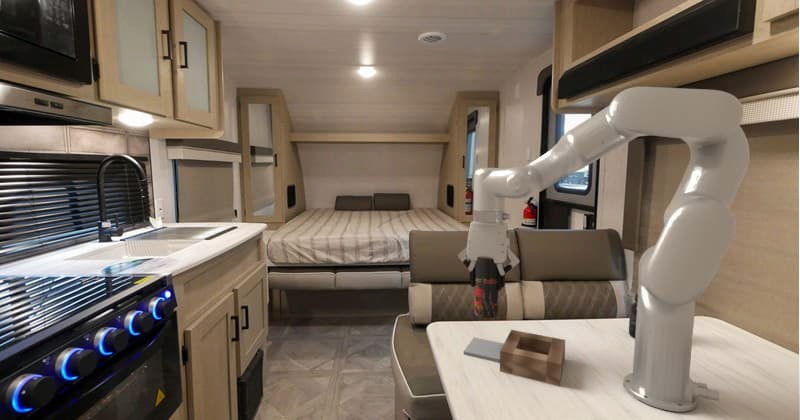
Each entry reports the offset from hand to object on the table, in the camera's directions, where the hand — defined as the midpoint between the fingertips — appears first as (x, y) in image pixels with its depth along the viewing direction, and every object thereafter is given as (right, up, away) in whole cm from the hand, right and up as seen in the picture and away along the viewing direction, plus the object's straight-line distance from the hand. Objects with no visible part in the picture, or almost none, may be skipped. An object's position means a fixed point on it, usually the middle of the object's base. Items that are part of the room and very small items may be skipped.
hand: (486, 286), depth 95 cm
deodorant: (0, -7, +1) cm, 7 cm away
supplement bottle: (+46, -16, +9) cm, 50 cm away
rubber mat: (0, -17, +2) cm, 17 cm away
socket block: (+10, -18, -6) cm, 21 cm away
